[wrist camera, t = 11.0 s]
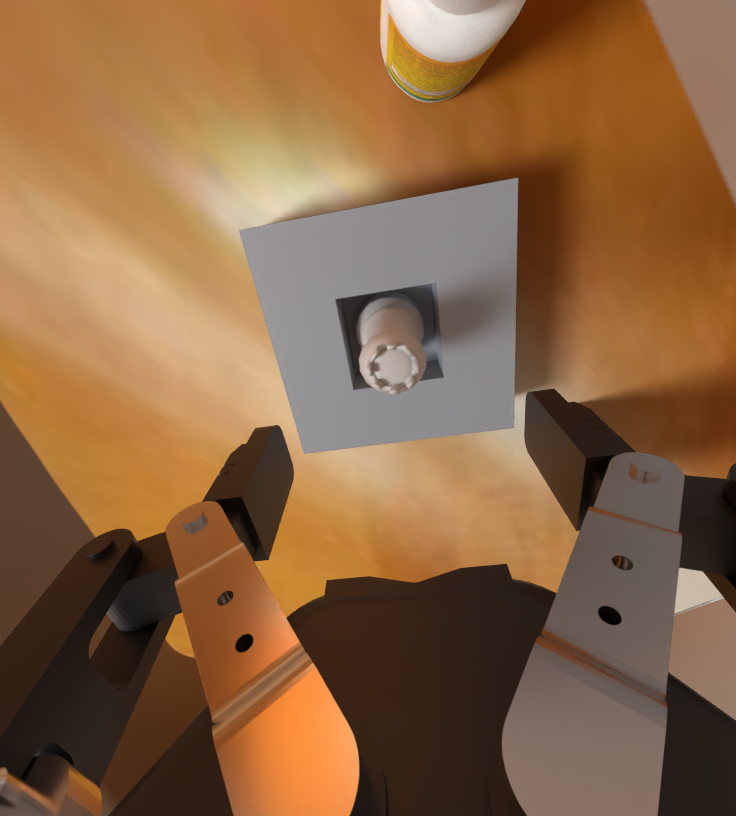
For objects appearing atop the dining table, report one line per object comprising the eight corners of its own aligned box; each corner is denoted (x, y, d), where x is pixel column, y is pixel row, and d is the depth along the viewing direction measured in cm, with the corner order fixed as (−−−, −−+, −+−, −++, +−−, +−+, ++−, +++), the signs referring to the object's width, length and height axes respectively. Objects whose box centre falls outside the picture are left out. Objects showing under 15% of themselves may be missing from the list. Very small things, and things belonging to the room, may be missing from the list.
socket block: (260, 227, 23) (238, 229, 19) (495, 183, 21) (518, 177, 18) (313, 424, 29) (304, 453, 25) (496, 400, 28) (513, 427, 24)
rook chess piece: (437, 330, 24) (461, 377, 17) (383, 370, 26) (384, 429, 19) (395, 274, 23) (403, 300, 16) (340, 319, 24) (324, 362, 17)
